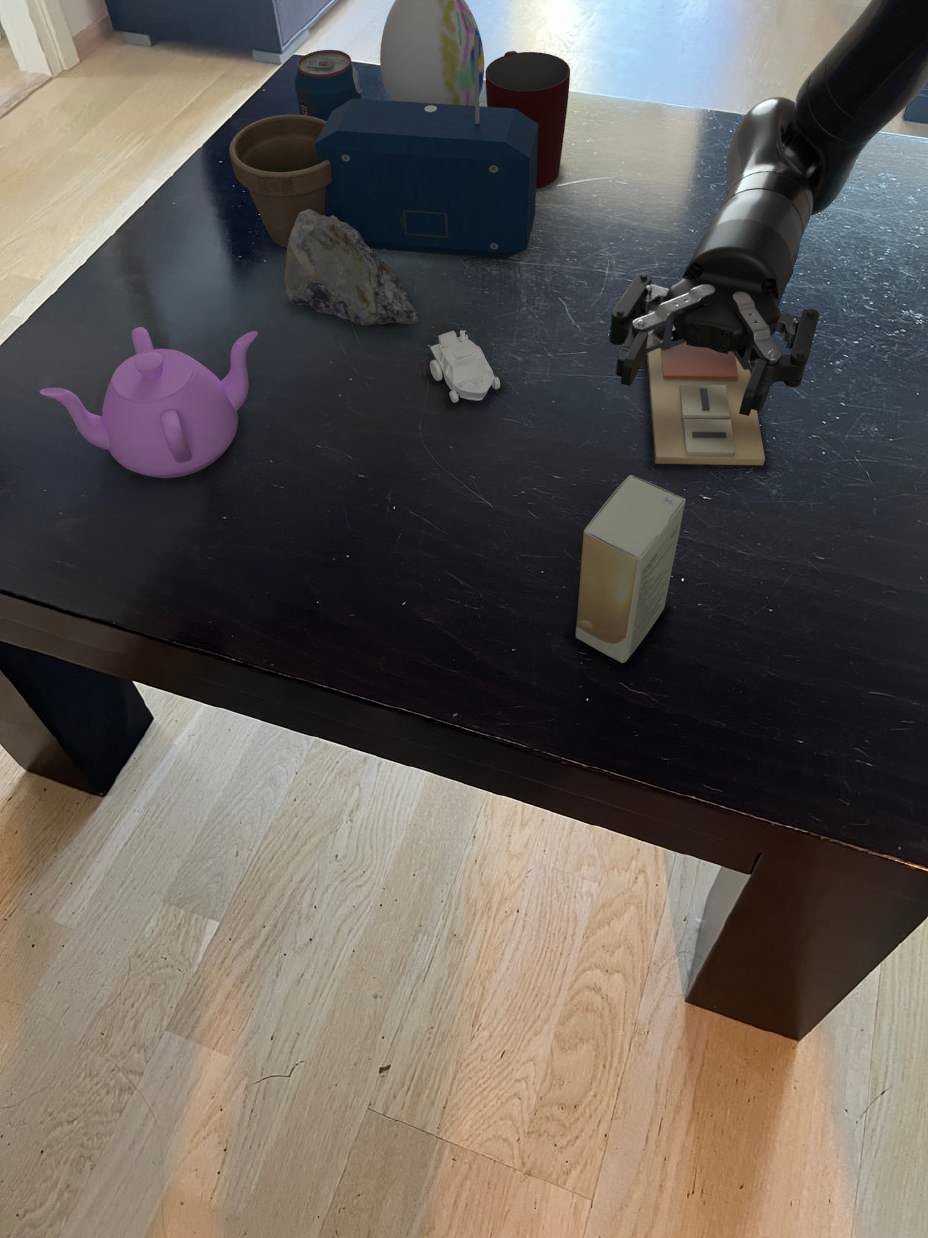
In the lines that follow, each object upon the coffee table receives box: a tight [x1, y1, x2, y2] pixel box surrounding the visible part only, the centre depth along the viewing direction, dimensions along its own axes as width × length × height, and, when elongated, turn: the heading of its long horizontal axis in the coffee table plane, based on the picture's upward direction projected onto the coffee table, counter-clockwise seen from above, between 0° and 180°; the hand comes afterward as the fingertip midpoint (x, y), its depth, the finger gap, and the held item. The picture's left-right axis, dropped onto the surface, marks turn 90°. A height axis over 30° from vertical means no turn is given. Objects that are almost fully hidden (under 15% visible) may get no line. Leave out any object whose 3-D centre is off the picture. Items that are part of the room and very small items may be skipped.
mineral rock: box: [283, 209, 419, 327], centre depth 92 cm, size 13×11×10 cm
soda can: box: [294, 49, 363, 122], centre depth 107 cm, size 7×7×12 cm
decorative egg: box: [379, 0, 485, 106], centre depth 113 cm, size 12×12×15 cm
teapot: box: [39, 326, 258, 479], centre depth 83 cm, size 12×14×9 cm
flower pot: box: [228, 114, 332, 249], centre depth 101 cm, size 12×11×10 cm
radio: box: [315, 36, 538, 260], centre depth 95 cm, size 21×9×20 cm, turn 80°
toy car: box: [429, 329, 501, 404], centre depth 87 cm, size 5×8×4 cm, turn 26°
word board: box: [646, 310, 766, 466], centre depth 87 cm, size 20×9×1 cm, turn 176°
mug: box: [484, 50, 571, 189], centre depth 107 cm, size 12×9×11 cm
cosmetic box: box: [575, 474, 687, 664], centre depth 67 cm, size 6×4×12 cm
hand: (685, 390), depth 67 cm, fingers open, 8 cm apart
